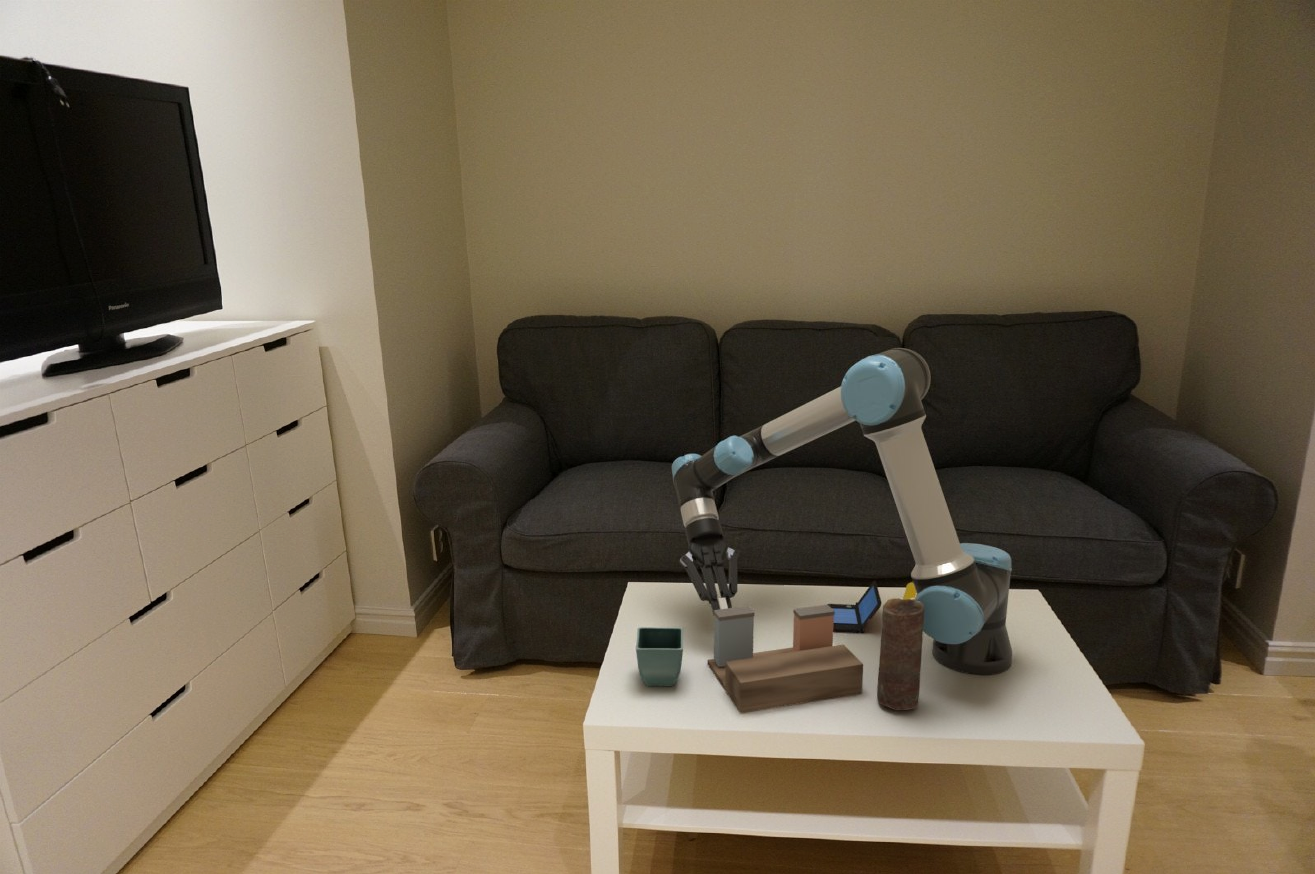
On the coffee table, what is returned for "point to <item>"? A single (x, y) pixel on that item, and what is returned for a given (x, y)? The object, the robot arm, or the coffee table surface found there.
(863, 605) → the handheld game console
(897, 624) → the candle
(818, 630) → the key terracotta
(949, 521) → the robot arm
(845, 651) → the key block
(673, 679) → the flower pot
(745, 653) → the key slate
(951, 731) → the coffee table surface
